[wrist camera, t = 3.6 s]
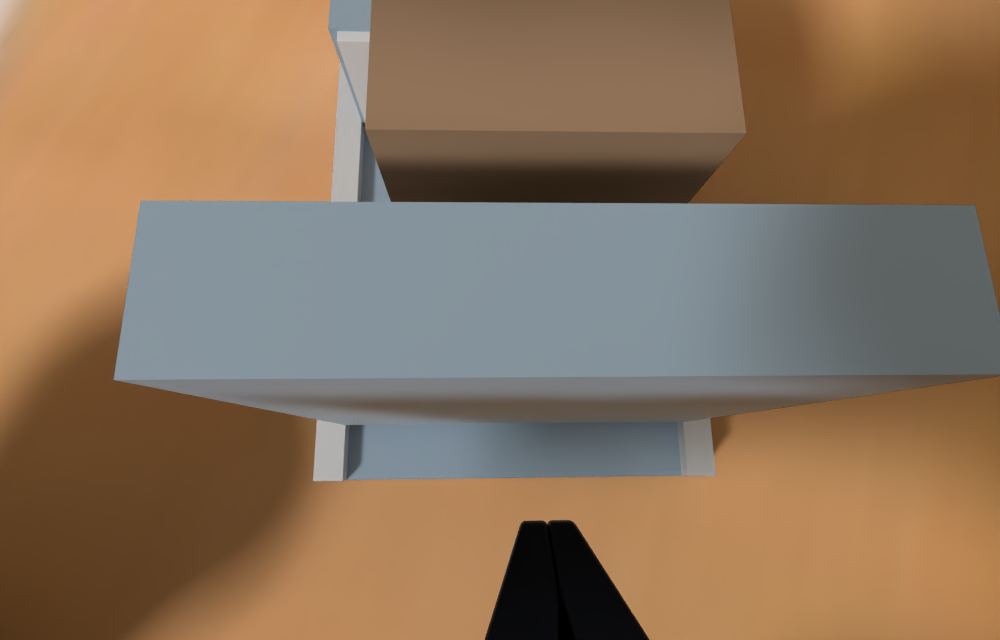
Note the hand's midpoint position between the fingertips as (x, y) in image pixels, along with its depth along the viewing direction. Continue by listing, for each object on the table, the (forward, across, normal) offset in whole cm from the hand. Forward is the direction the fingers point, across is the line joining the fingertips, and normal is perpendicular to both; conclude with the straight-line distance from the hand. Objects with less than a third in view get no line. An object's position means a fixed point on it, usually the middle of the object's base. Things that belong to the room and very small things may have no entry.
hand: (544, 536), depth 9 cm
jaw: (+7, 0, +2) cm, 7 cm away
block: (+10, 0, 0) cm, 10 cm away
